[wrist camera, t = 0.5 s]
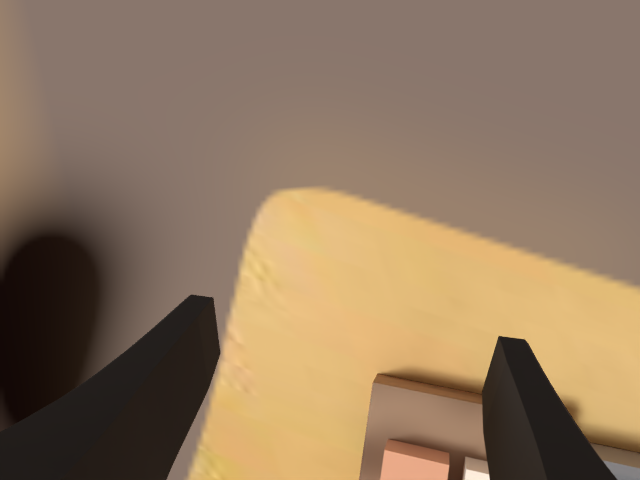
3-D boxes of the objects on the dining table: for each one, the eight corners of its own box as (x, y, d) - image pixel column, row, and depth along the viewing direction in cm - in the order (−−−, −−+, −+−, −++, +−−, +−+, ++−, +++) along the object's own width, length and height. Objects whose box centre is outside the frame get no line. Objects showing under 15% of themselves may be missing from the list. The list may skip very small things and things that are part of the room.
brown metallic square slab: (516, 567, 35) (522, 591, 33) (356, 524, 38) (350, 543, 35) (540, 406, 35) (547, 417, 33) (377, 373, 38) (372, 382, 35)
